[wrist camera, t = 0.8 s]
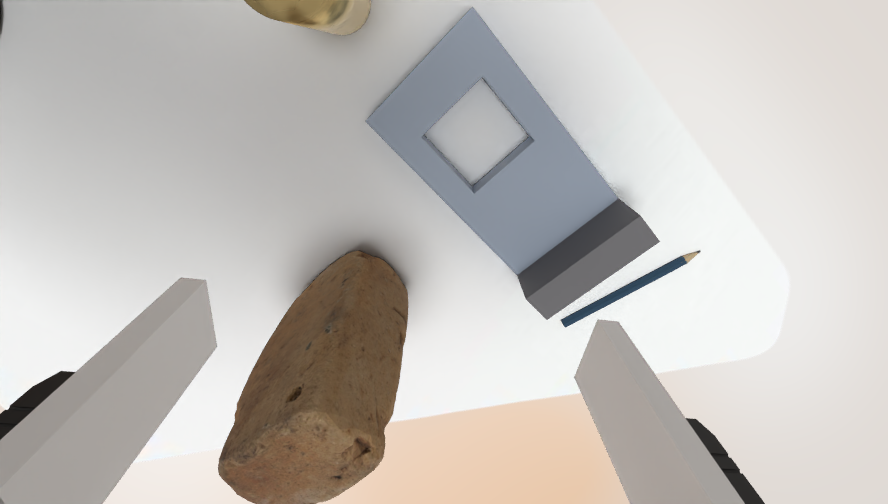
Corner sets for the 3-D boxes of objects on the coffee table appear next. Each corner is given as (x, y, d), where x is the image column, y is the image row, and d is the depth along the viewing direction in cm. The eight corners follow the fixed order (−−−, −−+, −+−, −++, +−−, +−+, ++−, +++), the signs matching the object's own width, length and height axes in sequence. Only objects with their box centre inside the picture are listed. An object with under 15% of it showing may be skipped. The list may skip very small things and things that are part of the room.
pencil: (559, 318, 41) (696, 245, 37) (563, 323, 42) (699, 252, 38) (562, 323, 40) (702, 249, 37) (566, 329, 41) (705, 256, 37)
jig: (369, 117, 31) (355, 130, 26) (470, 9, 28) (478, -2, 23) (531, 283, 39) (546, 319, 33) (626, 214, 36) (659, 241, 30)
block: (372, 233, 36) (309, 405, 18) (418, 289, 39) (403, 484, 21) (288, 288, 39) (160, 486, 21) (337, 337, 42) (262, 547, 24)
